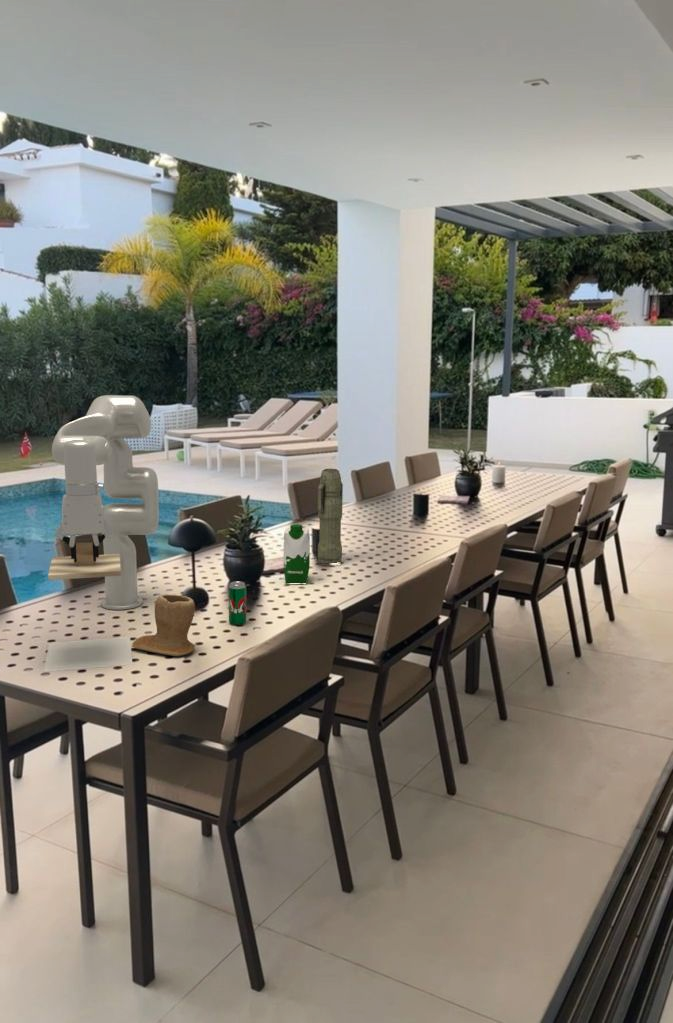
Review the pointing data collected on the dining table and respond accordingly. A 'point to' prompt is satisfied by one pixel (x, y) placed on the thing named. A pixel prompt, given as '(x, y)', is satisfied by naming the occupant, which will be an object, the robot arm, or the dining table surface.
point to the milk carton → (296, 554)
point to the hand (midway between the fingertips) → (85, 560)
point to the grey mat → (88, 654)
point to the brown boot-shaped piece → (170, 627)
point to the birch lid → (84, 564)
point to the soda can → (237, 603)
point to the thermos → (330, 516)
